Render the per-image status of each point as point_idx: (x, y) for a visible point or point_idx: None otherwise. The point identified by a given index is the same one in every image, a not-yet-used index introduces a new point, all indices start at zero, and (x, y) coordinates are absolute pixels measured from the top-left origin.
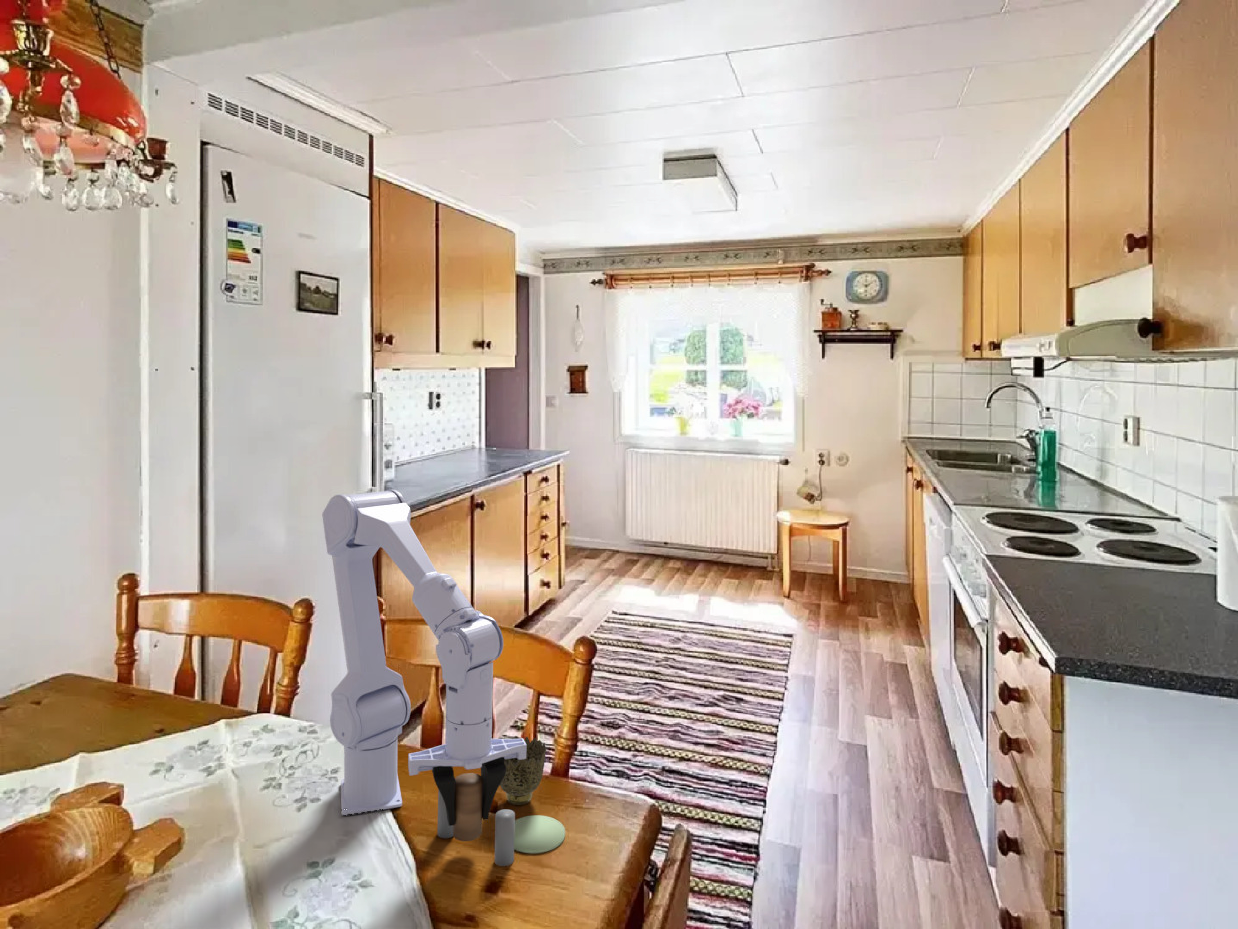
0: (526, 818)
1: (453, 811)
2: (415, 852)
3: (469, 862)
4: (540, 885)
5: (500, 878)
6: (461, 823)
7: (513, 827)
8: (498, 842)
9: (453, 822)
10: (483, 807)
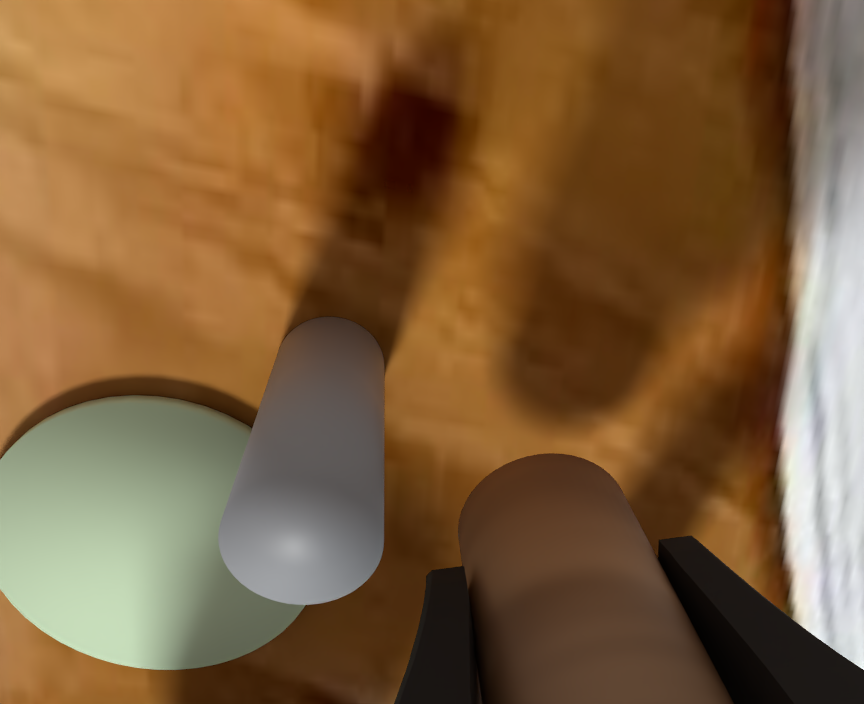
0: (203, 652)
1: (722, 605)
2: (766, 491)
3: (518, 379)
4: (113, 101)
5: (359, 215)
6: (625, 534)
7: (245, 453)
8: (363, 395)
9: (678, 549)
10: (471, 642)
